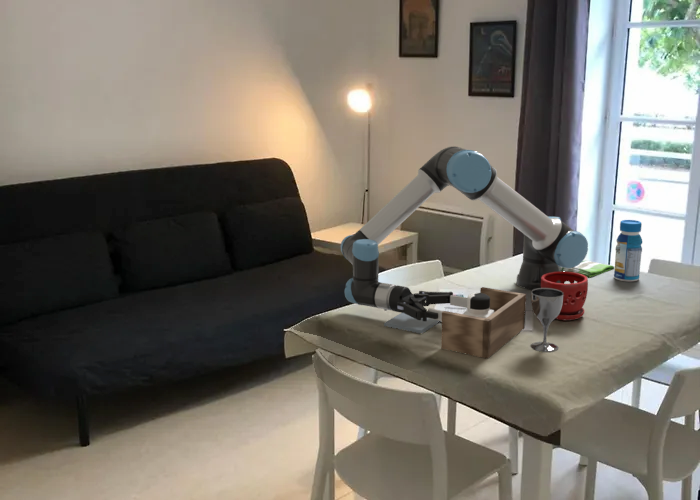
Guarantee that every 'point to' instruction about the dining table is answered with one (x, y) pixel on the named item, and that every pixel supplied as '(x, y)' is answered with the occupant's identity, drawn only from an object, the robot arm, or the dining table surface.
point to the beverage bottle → (628, 251)
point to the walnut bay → (485, 325)
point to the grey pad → (410, 323)
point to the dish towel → (588, 268)
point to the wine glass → (546, 313)
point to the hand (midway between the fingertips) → (461, 310)
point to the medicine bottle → (478, 305)
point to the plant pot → (568, 292)
